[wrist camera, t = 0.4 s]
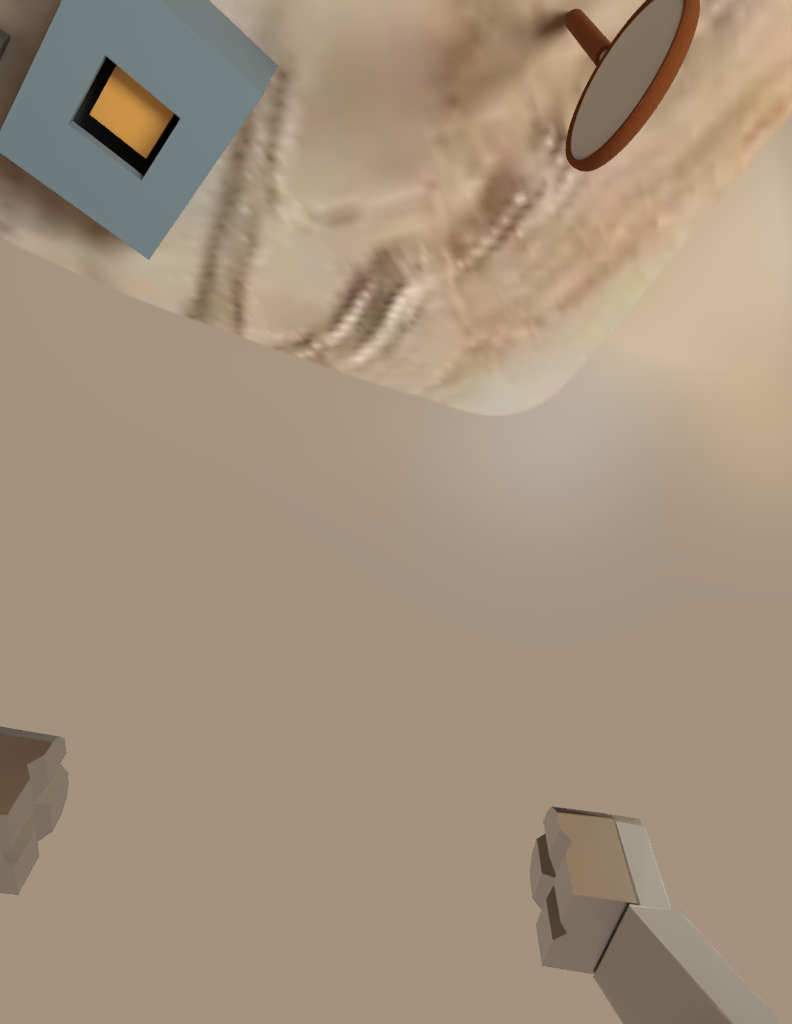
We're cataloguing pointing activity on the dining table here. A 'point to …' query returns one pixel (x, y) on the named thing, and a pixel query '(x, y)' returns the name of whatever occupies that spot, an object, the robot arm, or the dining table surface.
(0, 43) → the pad
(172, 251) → the dining table surface
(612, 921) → the robot arm
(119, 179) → the box
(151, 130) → the button
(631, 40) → the magnifying glass
